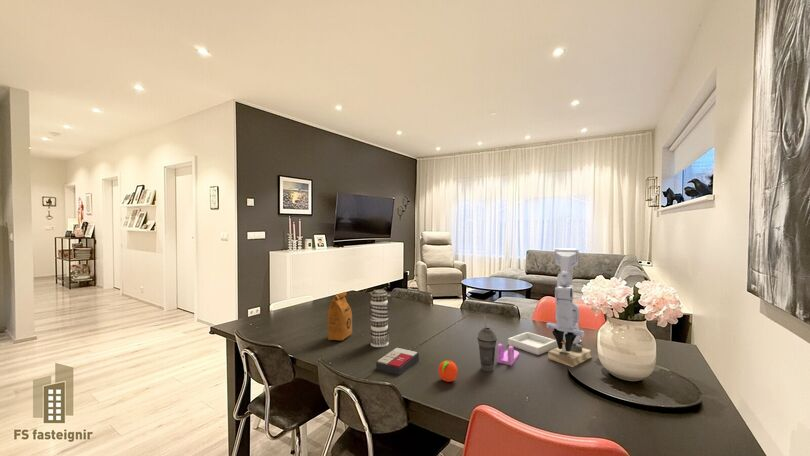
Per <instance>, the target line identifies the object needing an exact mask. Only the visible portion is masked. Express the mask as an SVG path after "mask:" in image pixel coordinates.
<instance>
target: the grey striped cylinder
mask: <svg viewBox="0 0 810 456" xmlns="http://www.w3.org/2000/svg"><path fill="white" fill-rule="evenodd" d="M368 307H369V315H370V317H369V318H370V319H369V320H370V322H371V324H370V328H369V329H370V333H369V334H370V346H371V347H374V348H383V347H387V346H388V345H389V341H390V335H389V331H390V330H389V329H390V328H389V324H388V320H389V314H390V313H389V310H390V309H389V307H390V305H389V302H388V292H387V291H386V290H384V289H374V290H373V291H371V293H370V302H369V306H368Z"/></svg>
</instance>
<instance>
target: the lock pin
mask: <svg viewBox="0 0 810 456" xmlns="http://www.w3.org/2000/svg"><path fill="white" fill-rule="evenodd" d="M561 343H562V354H564V355H567V351H566V340H561Z"/></svg>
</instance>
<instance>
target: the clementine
mask: <svg viewBox="0 0 810 456" xmlns="http://www.w3.org/2000/svg"><path fill="white" fill-rule="evenodd" d="M437 371H438V376H439V377H440V379H442V380H443V382H447V383H449V382H453V381H455V379H457V377H458V374H459V373H458V372H459V370H458V366H457V365H456V363H454V362H453V361H452V360H450V359H449V360H443V361H442V362H441V363H440V364H439V366H438V370H437Z"/></svg>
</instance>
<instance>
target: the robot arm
mask: <svg viewBox="0 0 810 456" xmlns="http://www.w3.org/2000/svg"><path fill="white" fill-rule="evenodd" d="M553 253H554V254H553V255H554V262H555V264H556V266H560V272H559V273H558V274H557V278H556V286H555V288H554V298H555V314H554V315H555V316H554V317H555V320H556V323H553V322H546V323H545V324H546V325H545V326H546V328H547V329H551V330H552V335H553V336H554V340H556V341H557V347H558V348H559V349H562V343H561V340H566V351H567V352H569V351H571V347H572V344H573V342H575V343H577V344H579V343H581V342H583V341H582V339H581V338H583V337H585V331H584V330H582V329H580V326H579V322H580V310H579V308H580V307H579V305H578V304H576V303H574V287H573V269H574V267H577V266H578V264H579V249H578V248H559V247H558V248H557V247H555V248H554V252H553Z"/></svg>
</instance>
